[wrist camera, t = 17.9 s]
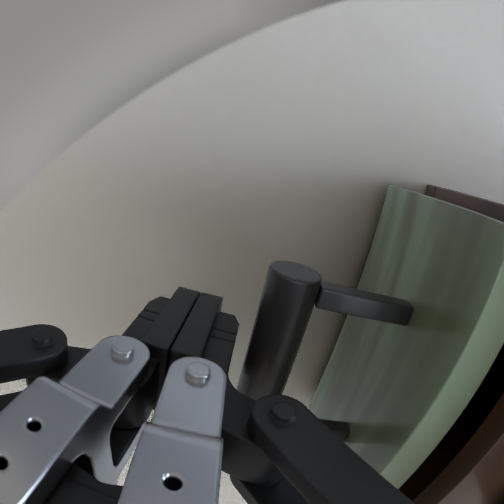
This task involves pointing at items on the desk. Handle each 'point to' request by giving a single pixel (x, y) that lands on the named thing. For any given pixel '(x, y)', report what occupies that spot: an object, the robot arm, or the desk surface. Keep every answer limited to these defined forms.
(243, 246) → the desk surface
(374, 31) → the desk surface
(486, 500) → the dresser
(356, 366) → the drawer
